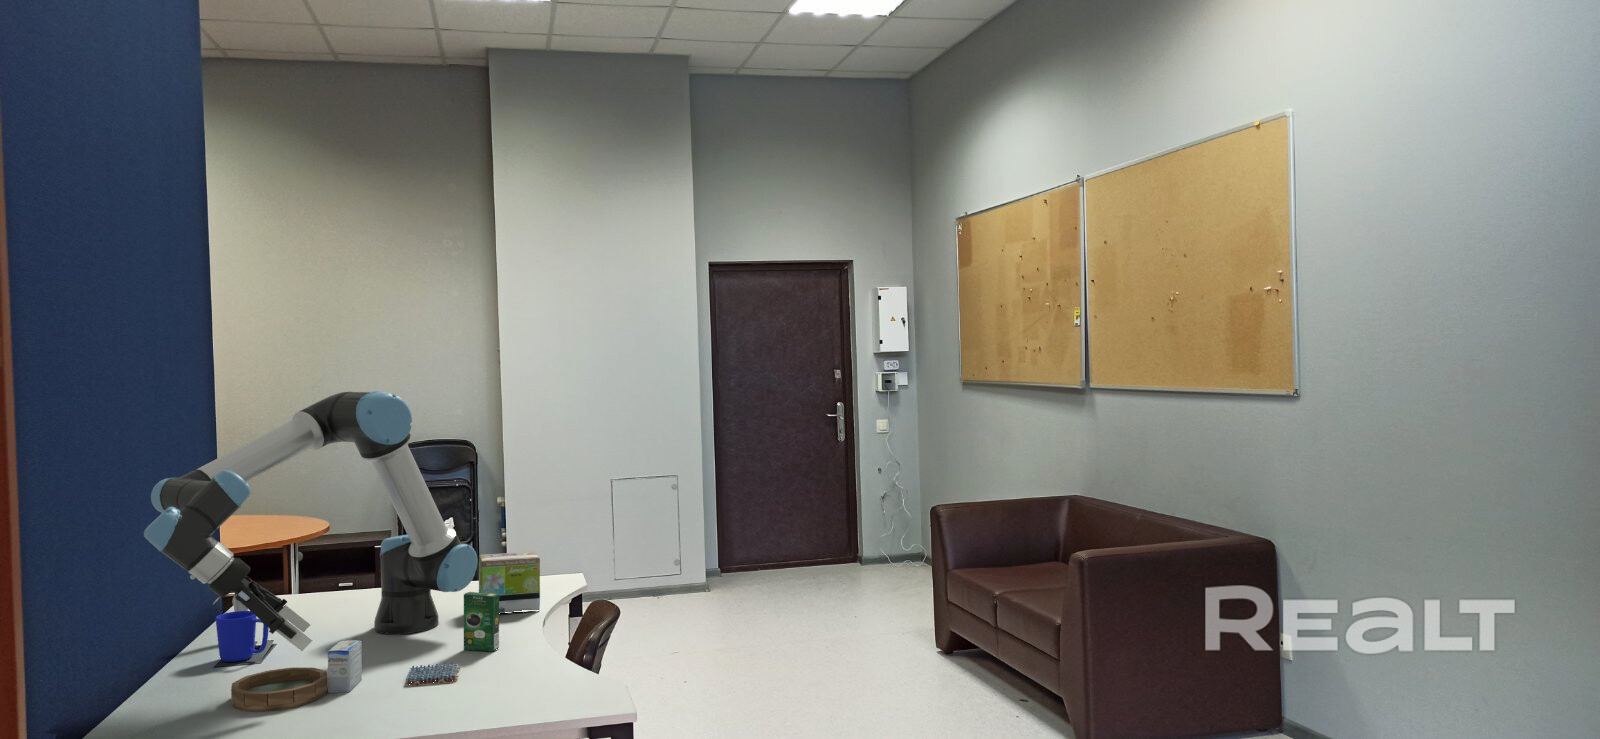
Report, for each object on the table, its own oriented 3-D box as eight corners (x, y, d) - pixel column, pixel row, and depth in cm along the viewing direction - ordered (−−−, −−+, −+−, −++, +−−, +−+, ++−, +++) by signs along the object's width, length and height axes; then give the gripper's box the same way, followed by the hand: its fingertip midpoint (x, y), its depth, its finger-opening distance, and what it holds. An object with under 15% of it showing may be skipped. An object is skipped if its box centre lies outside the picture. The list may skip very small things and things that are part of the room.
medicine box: (340, 681, 225) (339, 640, 225) (362, 680, 226) (361, 639, 226) (327, 693, 218) (326, 650, 217) (350, 692, 218) (349, 649, 218)
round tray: (325, 679, 227) (325, 663, 227) (329, 702, 212) (329, 685, 212) (233, 691, 219) (232, 675, 219) (230, 716, 204) (230, 698, 204)
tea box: (481, 617, 279) (480, 560, 279) (478, 609, 289) (477, 554, 288) (540, 611, 285) (540, 556, 285) (535, 603, 294) (535, 549, 294)
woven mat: (404, 689, 221) (404, 679, 221) (409, 674, 231) (409, 665, 231) (457, 685, 224) (457, 675, 224) (460, 670, 234) (460, 661, 234)
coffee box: (501, 649, 249) (500, 592, 249) (494, 652, 246) (493, 595, 246) (469, 647, 251) (468, 591, 251) (463, 650, 248) (462, 593, 248)
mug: (255, 665, 238) (254, 620, 238) (207, 663, 240) (206, 618, 240) (280, 655, 246) (279, 611, 246) (234, 653, 248) (233, 610, 248)
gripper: (209, 574, 221) (291, 637, 228) (201, 598, 199) (293, 668, 206) (237, 546, 223) (318, 610, 230) (233, 566, 201) (323, 637, 208)
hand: (306, 637), depth 218 cm, fingers open, 13 cm apart
